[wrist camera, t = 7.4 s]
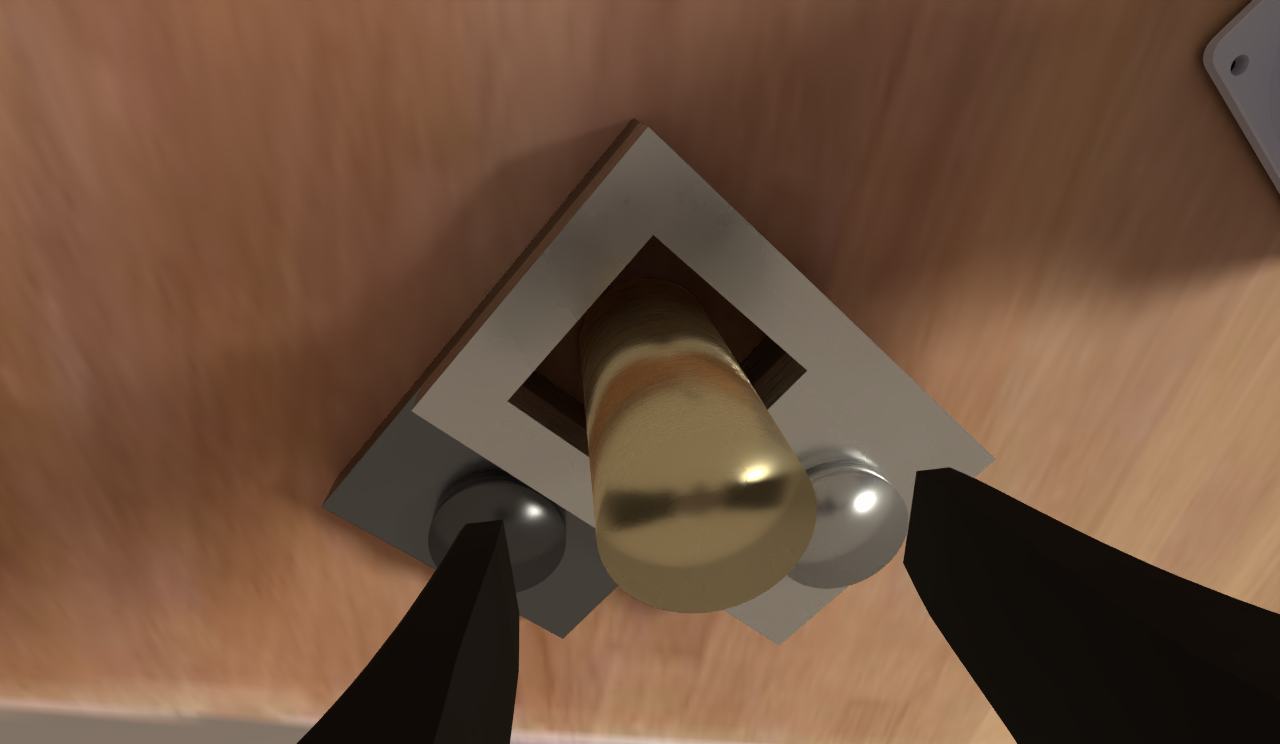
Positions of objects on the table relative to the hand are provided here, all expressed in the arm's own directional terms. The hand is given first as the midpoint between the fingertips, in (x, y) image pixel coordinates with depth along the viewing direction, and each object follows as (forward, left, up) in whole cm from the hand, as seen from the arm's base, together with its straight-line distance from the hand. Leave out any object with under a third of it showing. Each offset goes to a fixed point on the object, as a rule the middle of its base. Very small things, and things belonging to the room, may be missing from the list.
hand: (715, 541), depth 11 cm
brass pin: (0, 0, -9) cm, 9 cm away
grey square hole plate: (-2, 0, -9) cm, 10 cm away
